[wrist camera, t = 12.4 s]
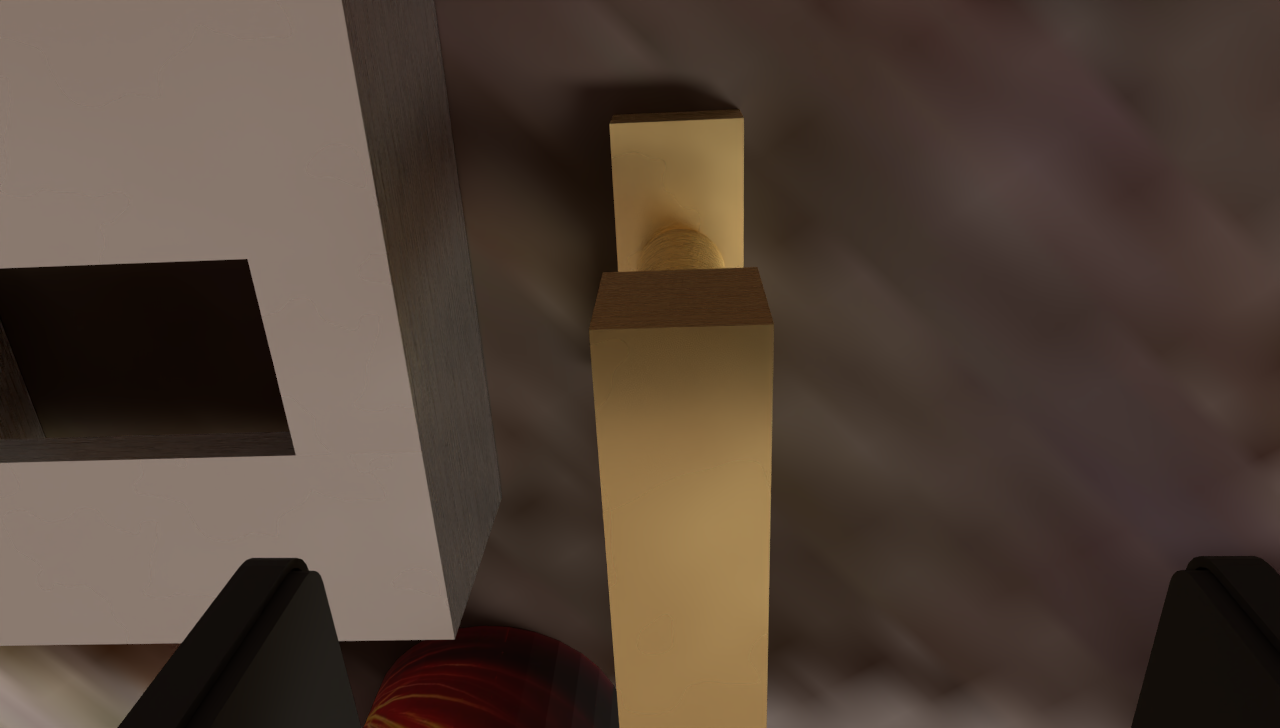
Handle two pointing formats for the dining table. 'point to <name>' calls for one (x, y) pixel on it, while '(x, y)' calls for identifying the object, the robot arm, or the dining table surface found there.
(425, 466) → the white slotted holder
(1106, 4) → the dining table surface
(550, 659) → the mug
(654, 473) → the tall wooden post
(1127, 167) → the dining table surface
